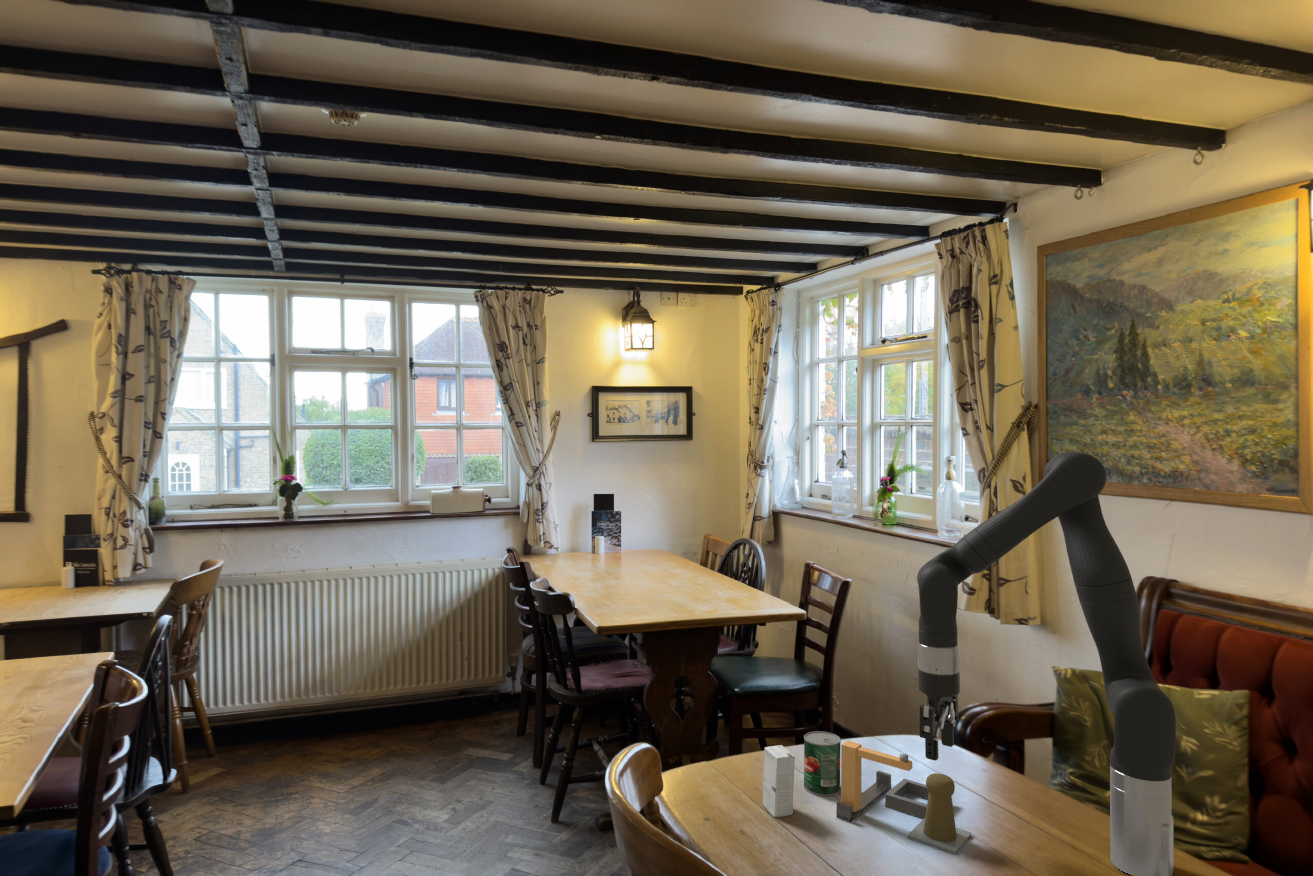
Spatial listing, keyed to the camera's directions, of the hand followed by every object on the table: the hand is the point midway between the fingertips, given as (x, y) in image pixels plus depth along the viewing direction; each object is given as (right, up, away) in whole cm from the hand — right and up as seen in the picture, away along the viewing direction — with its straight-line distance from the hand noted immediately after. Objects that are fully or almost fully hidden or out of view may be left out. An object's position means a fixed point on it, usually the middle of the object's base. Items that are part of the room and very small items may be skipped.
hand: (940, 752), depth 144 cm
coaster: (0, -16, 0) cm, 16 cm away
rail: (-11, -16, +14) cm, 24 cm away
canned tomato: (-18, -17, +20) cm, 32 cm away
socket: (0, -16, +13) cm, 21 cm away
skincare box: (-29, -16, +10) cm, 35 cm away
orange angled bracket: (-11, -15, +5) cm, 19 cm away
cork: (0, -16, 0) cm, 16 cm away
